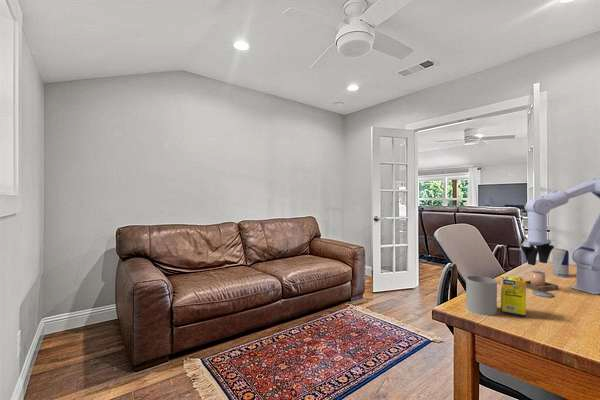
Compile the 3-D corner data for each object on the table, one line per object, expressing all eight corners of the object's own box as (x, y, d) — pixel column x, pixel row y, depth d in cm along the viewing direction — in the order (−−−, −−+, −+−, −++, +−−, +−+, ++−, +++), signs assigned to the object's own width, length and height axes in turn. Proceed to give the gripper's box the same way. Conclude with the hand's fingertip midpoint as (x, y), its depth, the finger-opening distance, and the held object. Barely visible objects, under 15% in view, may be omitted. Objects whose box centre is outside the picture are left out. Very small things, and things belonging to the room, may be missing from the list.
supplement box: (526, 318, 86) (526, 281, 85) (501, 313, 89) (502, 278, 89) (523, 311, 91) (523, 277, 90) (500, 307, 94) (500, 274, 94)
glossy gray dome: (540, 291, 109) (540, 290, 109) (557, 296, 103) (557, 295, 103) (528, 292, 108) (528, 291, 108) (545, 298, 102) (545, 296, 102)
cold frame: (536, 283, 119) (536, 279, 119) (558, 289, 111) (558, 285, 111) (517, 285, 117) (518, 281, 117) (538, 291, 109) (538, 287, 109)
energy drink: (572, 277, 127) (572, 250, 127) (559, 277, 127) (560, 250, 127) (561, 274, 133) (561, 248, 132) (549, 274, 133) (549, 248, 132)
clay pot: (536, 285, 117) (536, 270, 117) (548, 288, 112) (548, 273, 112) (527, 286, 116) (527, 271, 116) (539, 289, 111) (539, 274, 111)
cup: (501, 316, 87) (502, 284, 87) (472, 314, 88) (472, 282, 88) (489, 306, 95) (489, 276, 95) (462, 304, 97) (462, 275, 97)
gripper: (536, 227, 119) (536, 259, 119) (514, 229, 113) (514, 263, 113) (557, 229, 112) (557, 263, 112) (535, 231, 106) (535, 267, 107)
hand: (537, 263), depth 112 cm, fingers open, 7 cm apart
